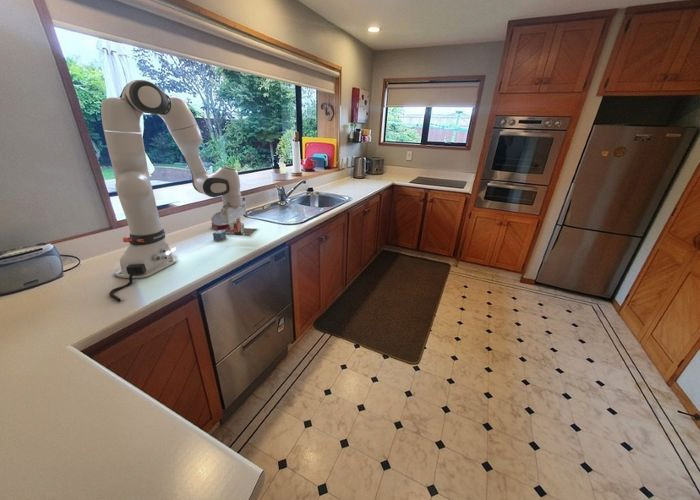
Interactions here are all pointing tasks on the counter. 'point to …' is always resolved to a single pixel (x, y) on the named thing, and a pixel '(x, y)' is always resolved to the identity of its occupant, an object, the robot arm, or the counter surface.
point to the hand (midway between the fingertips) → (235, 227)
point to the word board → (245, 233)
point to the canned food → (218, 222)
